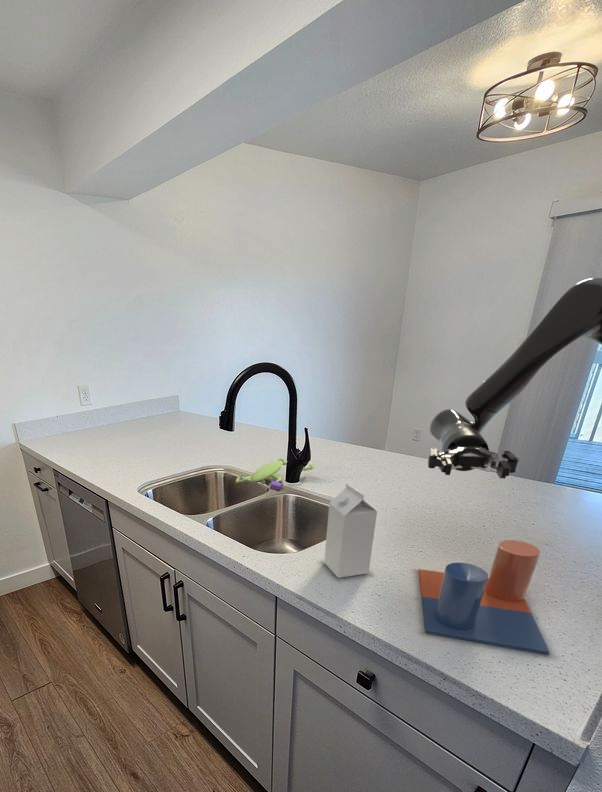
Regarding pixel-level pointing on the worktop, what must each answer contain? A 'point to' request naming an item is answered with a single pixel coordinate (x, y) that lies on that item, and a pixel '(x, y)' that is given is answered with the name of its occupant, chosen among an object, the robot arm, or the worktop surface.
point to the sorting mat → (484, 619)
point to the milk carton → (349, 534)
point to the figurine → (269, 474)
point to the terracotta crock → (512, 570)
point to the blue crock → (460, 595)
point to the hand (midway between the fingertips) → (476, 471)
